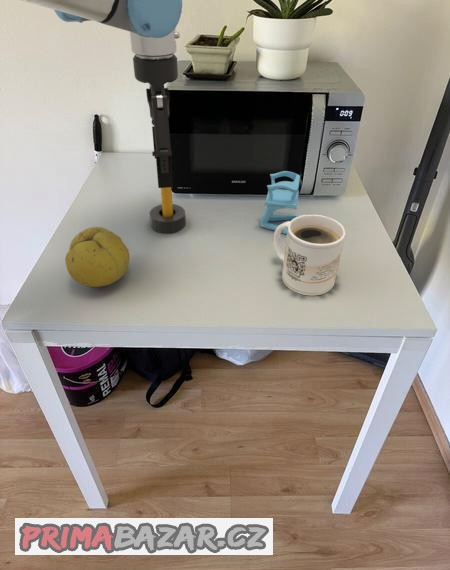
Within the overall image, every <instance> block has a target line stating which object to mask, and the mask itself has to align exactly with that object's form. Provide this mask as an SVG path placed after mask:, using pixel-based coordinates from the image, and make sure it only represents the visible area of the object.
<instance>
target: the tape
mask: <svg viewBox="0 0 450 570" xmlns="http://www.w3.org/2000/svg"><path fill="white" fill-rule="evenodd" d="M172 205H173V216H170V217H163V210H162V203H161V204H158V205H155V206H153V208H151V209H150V211H149V222H150V223H149V224H150V228H151V229H152V230H153V231H154V232H155V233H158V234H163V235H171V234H176V233H179V232H181V231H182V230H184V229H185V227H186V225H187V219H186V209H185V208H183V206H181V205H179V204H175V203H172Z"/></svg>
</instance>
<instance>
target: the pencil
mask: <svg viewBox="0 0 450 570" xmlns="http://www.w3.org/2000/svg"><path fill="white" fill-rule="evenodd" d="M160 195H161V196H160V197H161V198H160V199H161V204H162V210H163V217H170V216H173V205H172V204H173V191H172V187H168V188H160Z"/></svg>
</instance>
